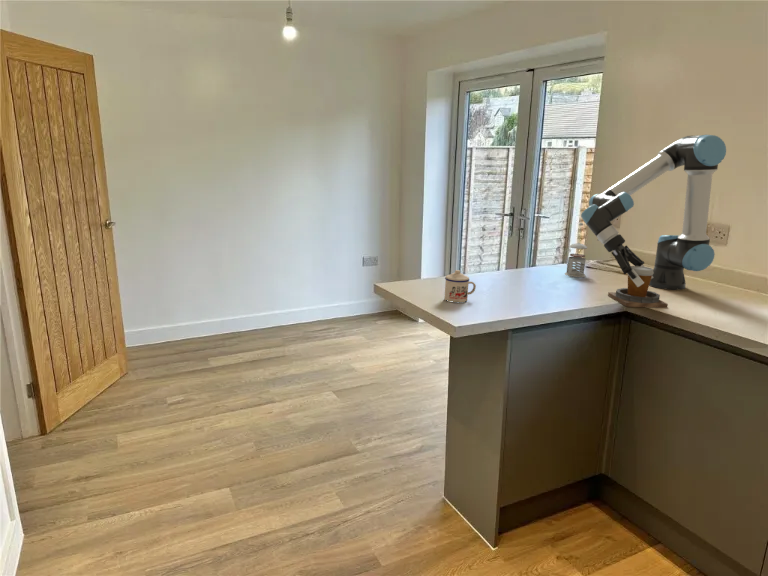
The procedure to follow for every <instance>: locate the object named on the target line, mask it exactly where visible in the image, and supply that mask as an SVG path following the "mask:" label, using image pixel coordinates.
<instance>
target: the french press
mask: <svg viewBox="0 0 768 576" xmlns="http://www.w3.org/2000/svg"><path fill="white" fill-rule="evenodd" d="M578 226H580V229H579V232H581V229H582V227H583V226H584V223H583V222H580V223H579V224H578ZM580 238H581V235H579V239H578V241H580ZM569 248H572V249H577V250H586V249H588V246H587V245H585V244H583V243H580V242H577V243H572V244H570V245H569ZM569 248H567V249H566V250H565V251H563V254H562V256H563V257H565V256H566V253H567V252H569V253H570V254H569V257H568V259H567V262H566V261H565V259H562V261H563V263H565V264H566V272H565V273H564V275H565V276H567V275H568V277H572V276H573V277H574V278H585V277H586V274H585V269H586V268H585V267H586V259H587V258H586V255H585V254H580V253H579V251H577V253H571V251H572V250H571V249H569Z"/></svg>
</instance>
